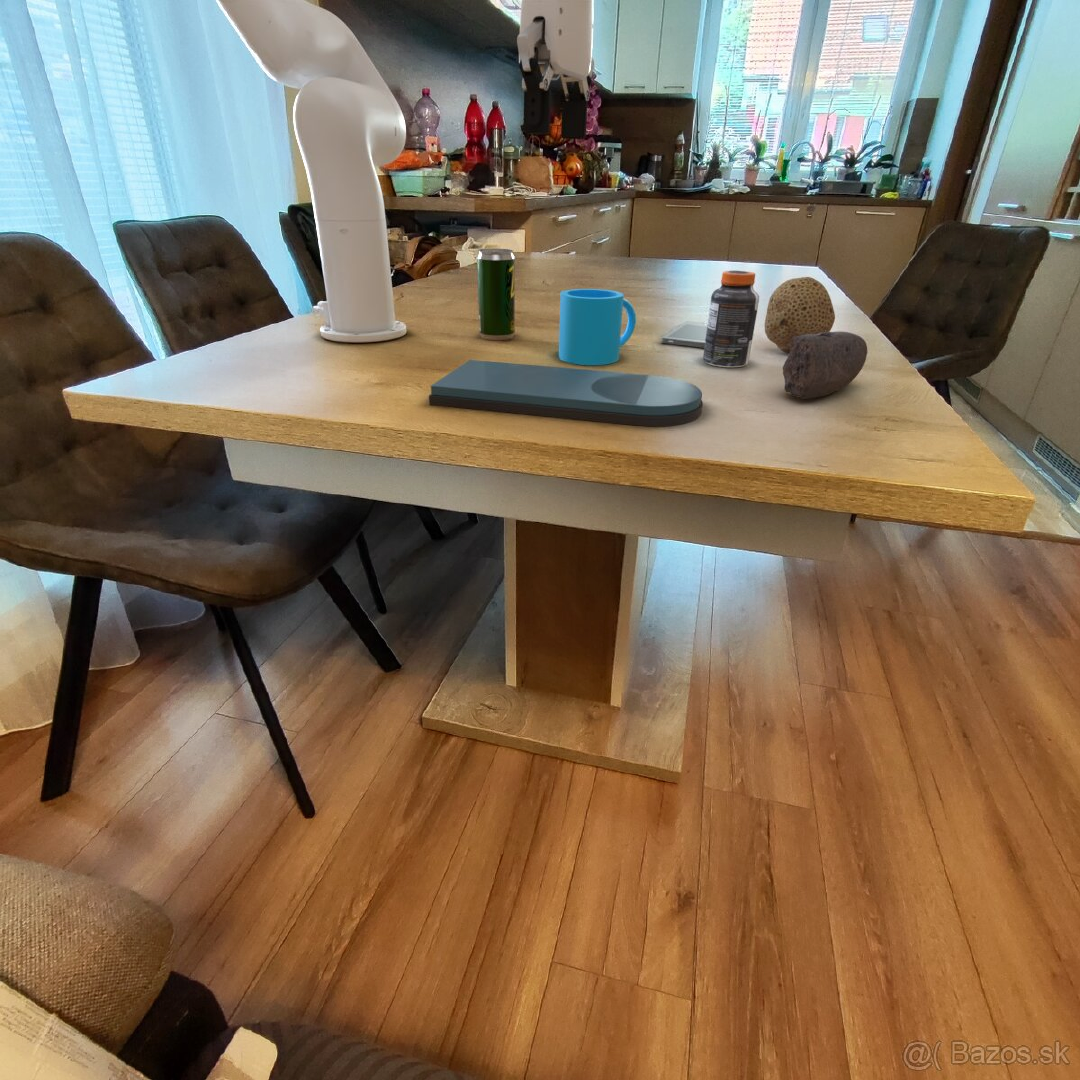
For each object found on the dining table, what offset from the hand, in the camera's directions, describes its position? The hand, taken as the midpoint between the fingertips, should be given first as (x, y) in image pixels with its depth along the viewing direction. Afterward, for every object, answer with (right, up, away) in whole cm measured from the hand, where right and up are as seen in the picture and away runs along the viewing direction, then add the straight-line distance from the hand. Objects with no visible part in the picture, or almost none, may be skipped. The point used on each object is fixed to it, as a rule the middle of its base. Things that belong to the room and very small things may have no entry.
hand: (555, 136), depth 77 cm
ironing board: (+1, -33, -7) cm, 34 cm away
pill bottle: (+23, -25, +8) cm, 35 cm away
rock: (+31, -32, -3) cm, 44 cm away
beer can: (-8, -18, +20) cm, 28 cm away
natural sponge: (+34, -22, +14) cm, 43 cm away
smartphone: (+23, -17, +22) cm, 36 cm away
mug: (+6, -24, +11) cm, 27 cm away
